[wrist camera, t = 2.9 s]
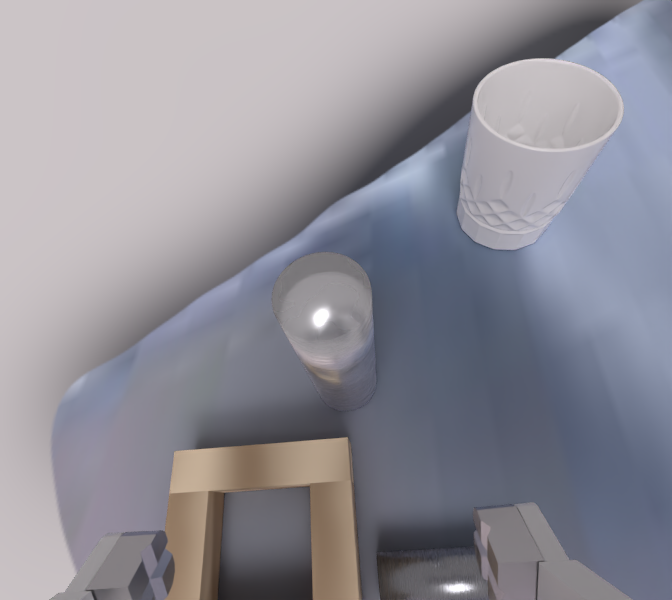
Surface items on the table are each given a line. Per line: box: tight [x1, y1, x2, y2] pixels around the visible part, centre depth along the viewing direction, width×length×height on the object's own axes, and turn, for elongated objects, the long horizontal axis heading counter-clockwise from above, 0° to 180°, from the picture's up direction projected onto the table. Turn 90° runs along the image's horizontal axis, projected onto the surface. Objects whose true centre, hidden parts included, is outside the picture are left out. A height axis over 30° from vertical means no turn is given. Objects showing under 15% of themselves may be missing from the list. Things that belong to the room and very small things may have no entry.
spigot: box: [272, 252, 377, 411], centre depth 21 cm, size 4×4×12 cm
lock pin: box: [377, 546, 490, 600], centre depth 20 cm, size 8×2×2 cm
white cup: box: [457, 58, 624, 250], centre depth 27 cm, size 8×8×10 cm
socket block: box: [164, 437, 362, 600], centre depth 22 cm, size 10×10×2 cm
